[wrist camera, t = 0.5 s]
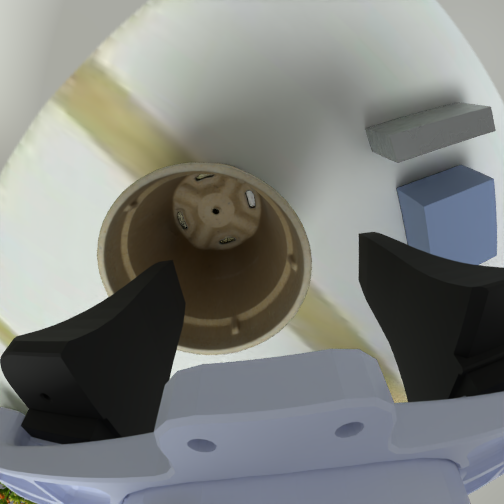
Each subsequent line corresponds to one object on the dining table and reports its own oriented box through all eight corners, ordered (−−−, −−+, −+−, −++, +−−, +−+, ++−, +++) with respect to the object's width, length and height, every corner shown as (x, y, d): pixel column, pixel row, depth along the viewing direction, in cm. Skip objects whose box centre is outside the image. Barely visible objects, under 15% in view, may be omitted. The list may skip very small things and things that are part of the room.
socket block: (468, 233, 22) (496, 255, 18) (410, 259, 23) (433, 286, 19) (461, 164, 19) (493, 178, 16) (396, 188, 20) (423, 206, 17)
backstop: (461, 123, 18) (495, 130, 14) (371, 151, 19) (397, 163, 16) (456, 102, 17) (490, 106, 14) (365, 128, 19) (390, 135, 15)
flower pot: (316, 216, 21) (353, 284, 14) (214, 293, 24) (201, 380, 16) (223, 108, 18) (205, 110, 10) (123, 204, 21) (63, 263, 13)
